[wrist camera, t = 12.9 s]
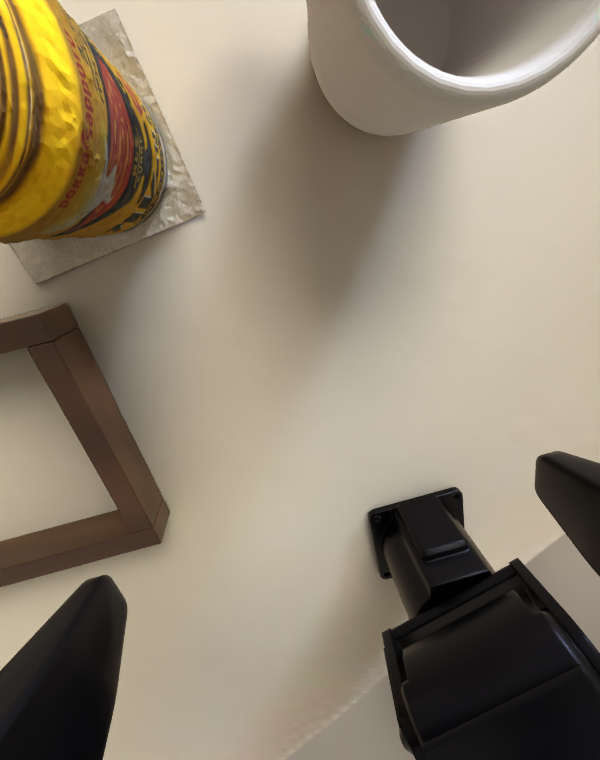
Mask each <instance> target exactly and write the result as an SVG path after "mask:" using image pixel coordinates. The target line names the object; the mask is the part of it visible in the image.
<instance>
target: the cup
mask: <svg viewBox="0 0 600 760" xmlns="http://www.w3.org/2000/svg"><path fill="white" fill-rule="evenodd" d="M306 2H307V11H308V40H309V49H310V55H311V60H312V64H313V69H314V72H315V75H316V78H317V81H318V83H319V85H320V88H321V90H322V92H323V94H324V95H325V97H326V99H327V100H328V102H329V103H330V105H331V106H332V107H333V108H334V110H335V111H336V112H337V113H338V114H339V115H340V116H341V117H342V118H343V119H344V120H346V121H347V122H348V123H349V124H351V125H352V126H354V127H356V128H358V129H360V130H362V131H364V132H367V133H371V134H375V135H382V136H396V135H403V134H408V133H412V132H415V131H419V130H422V129H425V128H428V127H432V126H435V125H438V124H441V123H445V122H448V121H451V120H454V119H458V118H461V117H464V116H467V115H471V114H474V113H477V112H480V111H484V110H487V109H490V108H493V107H497V106H500V105H503V104H506V103H509V102H512V101H514V100H516V99H519V98H521V97H523V96H525V95H527V94H529V93H531V92H533V91H534V90H536V89H538V88H540V87H541V86H543V85H544V84H546V83H547V82H549V81H550V80H551V79H553V78H554V77H555V76H557V75H558V74H559V73H561V72H562V71H563V70H564V69H566V68H567V67H568V66H569V65H570V64H571V63H572V62H573V61H574V60H576V59H577V58H578V57H579V56H580V55H581V54H582V53H583V52H584V51H585V49H586V48H587V47H588V46H589V45H590V44H591V43H592V42H593V41H594V39H595V38H596V37H597V36H598V34H599V33H600V0H306Z"/></svg>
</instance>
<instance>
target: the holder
mask: <svg viewBox="0 0 600 760" xmlns="http://www.w3.org/2000/svg"><path fill="white" fill-rule="evenodd" d="M26 347H28V348H27V349H28V351H29V353H30V355H31V356H32V358H33V360H34V362H35V363H36V365H37V367H38V369H39V370H40V372H41V374H42V376H43V377H44V379H45V381H46V383H47V384H48V386H49V388H50V390H51V392H52V393H53V395H54V397H55V399H56V400H57V402H58V404H59V406H60V407H61V409H62V411H63V413H64V414H65V416H66V418H67V420H68V421H69V423H70V425H71V427H72V428H73V430H74V432H75V434H76V435H77V437H78V439H79V441H80V442H81V444H82V446H83V448H84V449H85V451H86V453H87V455H88V457H89V458H90V460H91V462H92V464H93V465H94V467H95V469H96V471H97V472H98V474H99V476H100V478H101V479H102V481H103V483H104V485H105V486H106V488H107V490H108V492H109V493H110V495H111V497H112V499H113V500H114V502H115V504H116V506H117V507H118V509H119V510H116V511H112V512H108V513H105V514H101V515H97V516H94V517H90V518H86V519H83V520H79V521H75V522H72V523H68V524H64V525H60V526H57V527H53V528H49V529H46V530H42V531H38V532H35V533H31V534H27V535H23V536H20V537H16V538H12V539H9V540H5V541H1V542H0V587H3V586H7V585H10V584H14V583H18V582H21V581H25V580H29V579H32V578H36V577H39V576H43V575H47V574H50V573H54V572H58V571H61V570H65V569H69V568H72V567H76V566H80V565H83V564H87V563H91V562H94V561H98V560H102V559H105V558H109V557H112V556H116V555H120V554H123V553H127V552H131V551H134V550H138V549H142V548H145V547H149V546H153V545H156V544H160V543H161V542H162V538H163V534H164V531H165V527H166V524H167V520H168V517H169V513H170V511H169V509H168V507H167V505H166V503H165V501H164V499H163V498H162V495H161V493H160V491H159V489H158V487H157V485H156V483H155V481H154V479H153V477H152V475H151V473H150V471H149V469H148V467H147V465H146V463H145V461H144V459H143V457H142V455H141V453H140V451H139V449H138V447H137V445H136V443H135V441H134V439H133V436H132V434H131V432H130V430H129V428H128V426H127V424H126V422H125V420H124V418H123V416H122V414H121V412H120V410H119V408H118V406H117V404H116V402H115V400H114V398H113V396H112V394H111V392H110V390H109V388H108V386H107V384H106V382H105V380H104V378H103V376H102V374H101V372H100V370H99V368H98V366H97V364H96V362H95V360H94V358H93V356H92V354H91V352H90V350H89V348H88V346H87V344H86V341H85V339H84V337H83V335H82V333H81V331H80V329H79V328H78V325H77V323H76V321H75V319H74V317H73V315H72V313H71V311H70V309H69V307H68V305H67V303H63V304H59V305H55V306H51V307H47V308H43V309H39V310H35V311H31V312H27V313H23V314H19V315H15V316H11V317H7V318H3V319H0V354H3V353H7V352H10V351H14V350H18V349H22V348H26Z"/></svg>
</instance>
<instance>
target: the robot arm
mask: <svg viewBox="0 0 600 760" xmlns="http://www.w3.org/2000/svg"><path fill="white" fill-rule="evenodd" d="M535 490H536V493H537V495H538V497H539V498H540V500H541V501H542V502H543V504H544V505H545V506H546V508H547V509H548V510H549V512H550V513H551V514H552V516H553V517H554V518H555V520H556V521H557V522H558V524H559V525H560V527H561V528H562V529H563V531H564V532H565V533H566V535H567V536H568V537H569V539H570V540H571V541H572V542H573V544H574V545H575V547H576V548H577V549H578V551H579V552H580V553H581V555H582V556H583V557H584V558H585V560H586V561H587V562H588V563H589V565H590V566H591V567H592V568H593V569H594V571H595V572H596V573H597V574H598V575H599V576H600V463H597V462H593V461H590V460H587V459H584V458H580V457H577V456H574V455H571V454H568V453H564V452H561V451H554V452H551V453H547V454H543V455H540V456H539V457H538V458H537V460H536V470H535ZM453 495H454V496H453ZM375 516H377V517H375ZM368 520H369V525H370V530H371V535H372V540H373V545H374V550H375V555H376V560H377V565H378V570H379V573H380V576H381V578H383V579H389V578H393V580H394V582H395V585H396V587H397V590H398V592H399V595H400V597H401V599H402V602H403V604H404V607H405V609H406V612H407V614H408V616H409V619H410V620H408V621H406V622H404V623H403V624H401V625H399V626H397V627H395V628H394V629H391V628H390V629H388V630H386V631H384V632H382V636H383V641H384V646H385V648H384V654H385V659H386V664H387V669H388V674H389V679H390V685H391V690H392V695H393V699H394V705H395V710H396V715H397V721H398V724H399V732H400V739H401V741H402V744H403V746H404V748H405V749H406V750H408V751H409V752H410V753H412V754H413V755H414V757H415V759H416V760H600V653H599V652H598V650H597V649H596V648H595V646H594V645H593V644H592V643H591V641H590V640H589V639H588V638H587V636H586V635H585V634H584V633H583V631H582V630H581V629H580V628H579V626H578V625H577V624H576V623H575V622H574V620H572V618H571V617H570V616H569V615H568V614H567V613H566V611H565V610H564V609H563V608H562V607H561V606H560V605H559V603H558V602H557V601H556V600H555V599H554V598H553V597H552V596H551V595H550V593H548V591H547V590H546V589H545V588H544V587H543V586H542V585H541V583H540V582H539V581H538V580H537V579H536V578H535V577H534V576H533V574H532V573H531V572H530V571H529V570H528V569H527V568H526V567H525V565H524V564H523V563H522V562H521V561H520V560H519V559H518V558H516V559H515V560H513V561H511V562H509V564H510V565H508V566H506V567H504V568H502V569H501V570H499V571H497V572H495V571H494V570H493V568H492V567H491V565H490V564H489V563H488V561H487V560H486V559H485V557H484V556H483V554H482V553H481V552H480V550H479V549H478V547H477V546H476V545H475V543H474V542H473V540H472V539H471V538H470V536H469V535H468V533H467V532H466V531H465V529H464V514H463V496H462V493H461V492H460V490H459V489H458V488H456V487H453V488H449V489H445V490H441V491H438V492H434V493H430V494H427V495H423V496H420V497H416V498H412V499H409V500H405V501H401V502H398V503H394V504H391V505H387V506H383V507H380V508H376V509H373V510H371V511H370V512H369V513H368ZM126 620H127V603H126V600H125V598H124V596H123V595H122V593H121V592H120V590H119V589H118V587H117V586H116V584H115V583H114V581H113V579H112V578H111V577H110V576H108V575H102V576H99V577H95V578H91V579H88V580H86V581H85V582H84V583H82V584H81V585H80V587H79V588H78V589H77V590H76V591H75V592H74V593H73V594H72V595H71V596H70V597H69V598H68V599H67V600H66V601H65V603H64V604H63V605H62V606H61V607H60V608H59V609H58V610H57V611H56V612H55V613H54V614H53V615H52V616H51V617H50V619H49V620H48V621H47V622H46V623H45V624H44V625H43V626H42V627H41V628H40V629H39V630H38V631H37V632H36V634H35V635H34V636H33V637H32V638H31V639H30V640H29V641H28V642H27V643H26V644H25V645H24V646H23V647H22V648H21V650H20V651H19V652H18V653H17V654H16V655H15V656H14V657H13V658H12V659H11V660H10V661H9V662H8V663H7V664H6V666H5V667H4V668H3V669H2V670H1V671H0V760H103V756H104V751H105V747H106V742H107V738H108V733H109V729H110V724H111V720H112V715H113V710H114V705H115V700H116V693H117V687H118V680H119V672H120V665H121V657H122V650H123V642H124V635H125V627H126Z"/></svg>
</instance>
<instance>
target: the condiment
mask: <svg viewBox="0 0 600 760" xmlns="http://www.w3.org/2000/svg"><path fill="white" fill-rule="evenodd" d="M203 213H205V209H204V207H203V205H202V202H201V200H200V198H199V196H198V194H197V191H196V189H195V187H194V184H193V182H192V180H191V178H190V176H189V173H188V171H187V169H186V166H185V164H184V162H183V160H182V157H181V155H180V153H179V151H178V148H177V146H176V144H175V142H174V139H173V137H172V135H171V133H170V130H169V128H168V126H167V124H166V121H165V119H164V117H163V115H162V113H161V110H160V108H159V106H158V104H157V101H156V99H155V97H154V95H153V92H152V90H151V88H150V86H149V83H148V81H147V79H146V77H145V75H144V72H143V70H142V68H141V65H140V63H139V62H138V60H137V57H136V55H135V53H134V50H133V48H132V46H131V44H130V41H129V39H128V37H127V35H126V32H125V30H124V28H123V26H122V23H121V21H120V19H119V17H118V14H117V12H116V10H115V9H113V10H111V11H108V12H106V13H104V14H102V15H100V16H98V17H95V18H93V19H91V20H89V21H87V22H85V23H83V24H81V25H79V26H78V25H77V23H76V22H75V21H74V19H73V18H71V17H70V16H69V15H68V14H67V13H66V11H65V10H64V9H63V8H62V6H61V5H60V3H59V2H58V1H57V0H0V242H2V243H5V244H6V243H9V244H10V246H11V247H12V248H13V250H14V251H15V253H16V254H17V255H18V257H19V259H20V261H21V263H22V264H23V266H24V267H25V269H26V270H27V272H28V273H29V274H30V276H31V277H32V279H33V280H34V282H35V283H36V284H38V283H40V282H42V281H45V280H47V279H49V278H52V277H54V276H56V275H59V274H61V273H64V272H66V271H68V270H70V269H73V268H75V267H77V266H80V265H82V264H84V263H87V262H89V261H92V260H94V259H96V258H99V257H101V256H104V255H106V254H108V253H111V252H113V251H116V250H118V249H120V248H123V247H125V246H128V245H130V244H132V243H135V242H137V241H139V240H142V239H144V238H146V237H149V236H151V235H154V234H156V233H158V232H161V231H163V230H166V229H168V228H170V227H173V226H175V225H177V224H180V223H182V222H184V221H187V220H189V219H191V218H194V217H196V216H198V215H201V214H203Z"/></svg>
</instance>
